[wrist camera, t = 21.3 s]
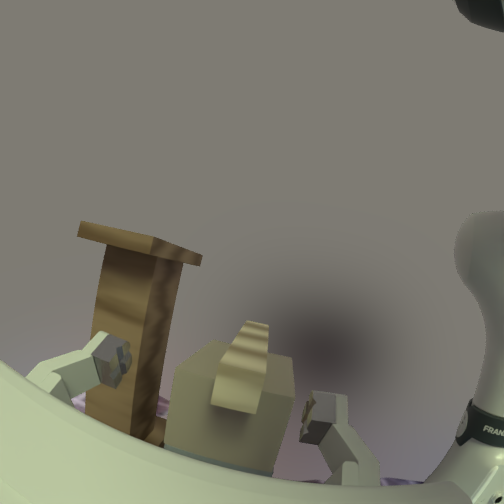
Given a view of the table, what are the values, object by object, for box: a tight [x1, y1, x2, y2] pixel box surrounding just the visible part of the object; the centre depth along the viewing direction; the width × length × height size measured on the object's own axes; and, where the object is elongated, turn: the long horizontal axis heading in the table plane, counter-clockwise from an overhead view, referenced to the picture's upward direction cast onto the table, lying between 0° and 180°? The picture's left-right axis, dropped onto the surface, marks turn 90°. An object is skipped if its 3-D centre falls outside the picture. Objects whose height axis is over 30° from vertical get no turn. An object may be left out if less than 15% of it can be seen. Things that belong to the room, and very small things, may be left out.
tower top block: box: [164, 340, 295, 472], centre depth 29 cm, size 14×10×8 cm
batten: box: [210, 321, 269, 414], centre depth 29 cm, size 22×3×3 cm, turn 176°
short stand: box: [77, 221, 202, 448], centre depth 31 cm, size 16×10×26 cm, turn 174°
